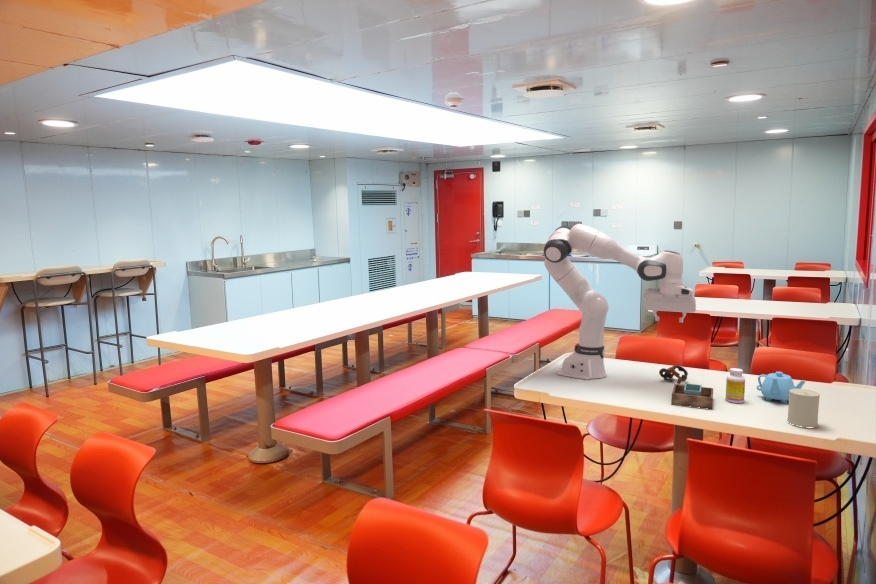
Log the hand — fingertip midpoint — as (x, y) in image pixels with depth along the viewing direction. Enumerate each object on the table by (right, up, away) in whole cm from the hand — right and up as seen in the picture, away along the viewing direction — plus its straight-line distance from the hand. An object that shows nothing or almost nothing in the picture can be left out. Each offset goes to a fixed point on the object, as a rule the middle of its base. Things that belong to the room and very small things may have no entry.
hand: (669, 321), depth 244 cm
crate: (+3, -31, -16) cm, 35 cm away
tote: (+3, -30, -16) cm, 34 cm away
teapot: (+38, -31, -14) cm, 51 cm away
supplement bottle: (+20, -31, -15) cm, 40 cm away
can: (+30, -34, -41) cm, 62 cm away
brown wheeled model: (+7, -28, +14) cm, 32 cm away
